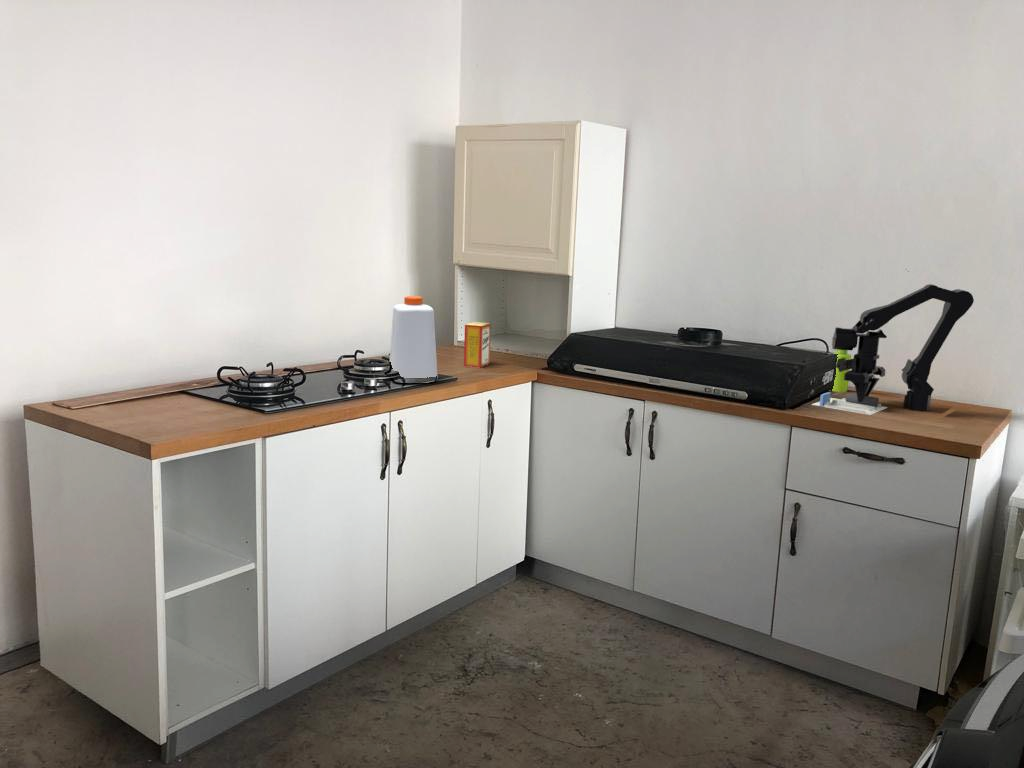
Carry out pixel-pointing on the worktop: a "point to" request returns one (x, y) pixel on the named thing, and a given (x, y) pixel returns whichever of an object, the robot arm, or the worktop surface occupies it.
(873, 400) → the dark grey bar
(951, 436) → the worktop surface
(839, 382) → the soap dispenser
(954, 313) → the robot arm
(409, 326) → the plastic bottle
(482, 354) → the baking soda box
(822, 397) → the board
